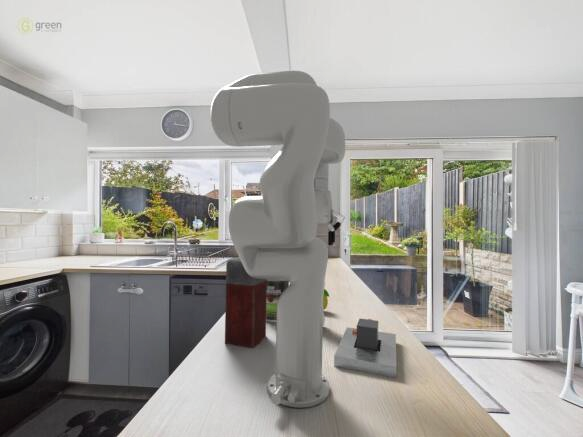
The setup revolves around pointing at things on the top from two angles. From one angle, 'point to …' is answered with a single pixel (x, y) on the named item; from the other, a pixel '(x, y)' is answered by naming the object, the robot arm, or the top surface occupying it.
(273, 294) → the coffee can
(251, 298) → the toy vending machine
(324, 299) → the lemon
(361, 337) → the plug
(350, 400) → the top surface
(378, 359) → the socket plate
